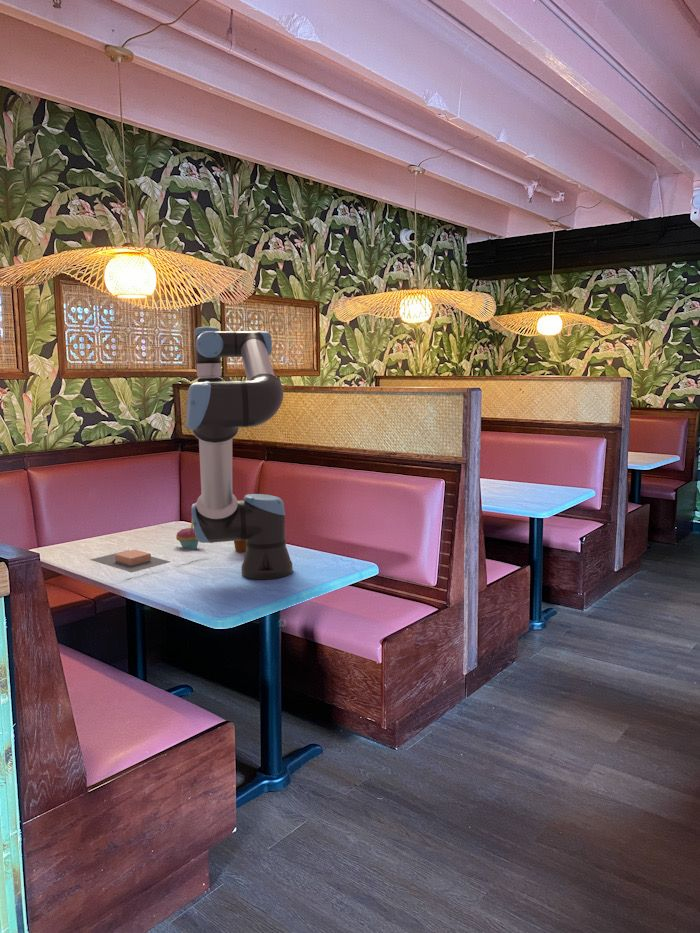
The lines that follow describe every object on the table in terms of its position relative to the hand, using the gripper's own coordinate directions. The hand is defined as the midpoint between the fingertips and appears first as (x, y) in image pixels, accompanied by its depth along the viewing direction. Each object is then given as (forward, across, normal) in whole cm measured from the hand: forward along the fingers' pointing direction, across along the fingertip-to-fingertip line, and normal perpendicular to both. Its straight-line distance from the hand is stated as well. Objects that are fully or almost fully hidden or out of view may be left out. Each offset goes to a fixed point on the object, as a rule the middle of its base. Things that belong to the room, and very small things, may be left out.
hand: (213, 452), depth 218 cm
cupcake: (+35, +18, -2) cm, 39 cm away
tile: (+32, +21, +21) cm, 43 cm away
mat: (+34, +18, +21) cm, 44 cm away
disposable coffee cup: (+35, +1, -12) cm, 37 cm away
